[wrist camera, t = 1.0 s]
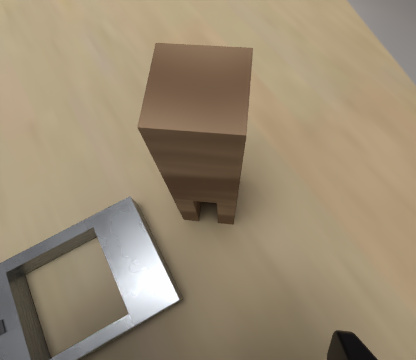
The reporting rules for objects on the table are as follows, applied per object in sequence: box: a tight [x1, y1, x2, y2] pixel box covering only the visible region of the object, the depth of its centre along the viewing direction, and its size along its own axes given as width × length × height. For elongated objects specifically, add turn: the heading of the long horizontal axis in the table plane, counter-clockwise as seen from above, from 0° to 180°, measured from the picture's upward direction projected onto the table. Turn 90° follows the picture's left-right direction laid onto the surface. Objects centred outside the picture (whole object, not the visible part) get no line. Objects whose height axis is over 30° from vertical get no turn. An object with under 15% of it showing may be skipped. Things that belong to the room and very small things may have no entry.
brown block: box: [138, 43, 253, 224], centre depth 17 cm, size 4×4×13 cm
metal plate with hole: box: [0, 197, 183, 360], centre depth 20 cm, size 8×16×2 cm, turn 119°
